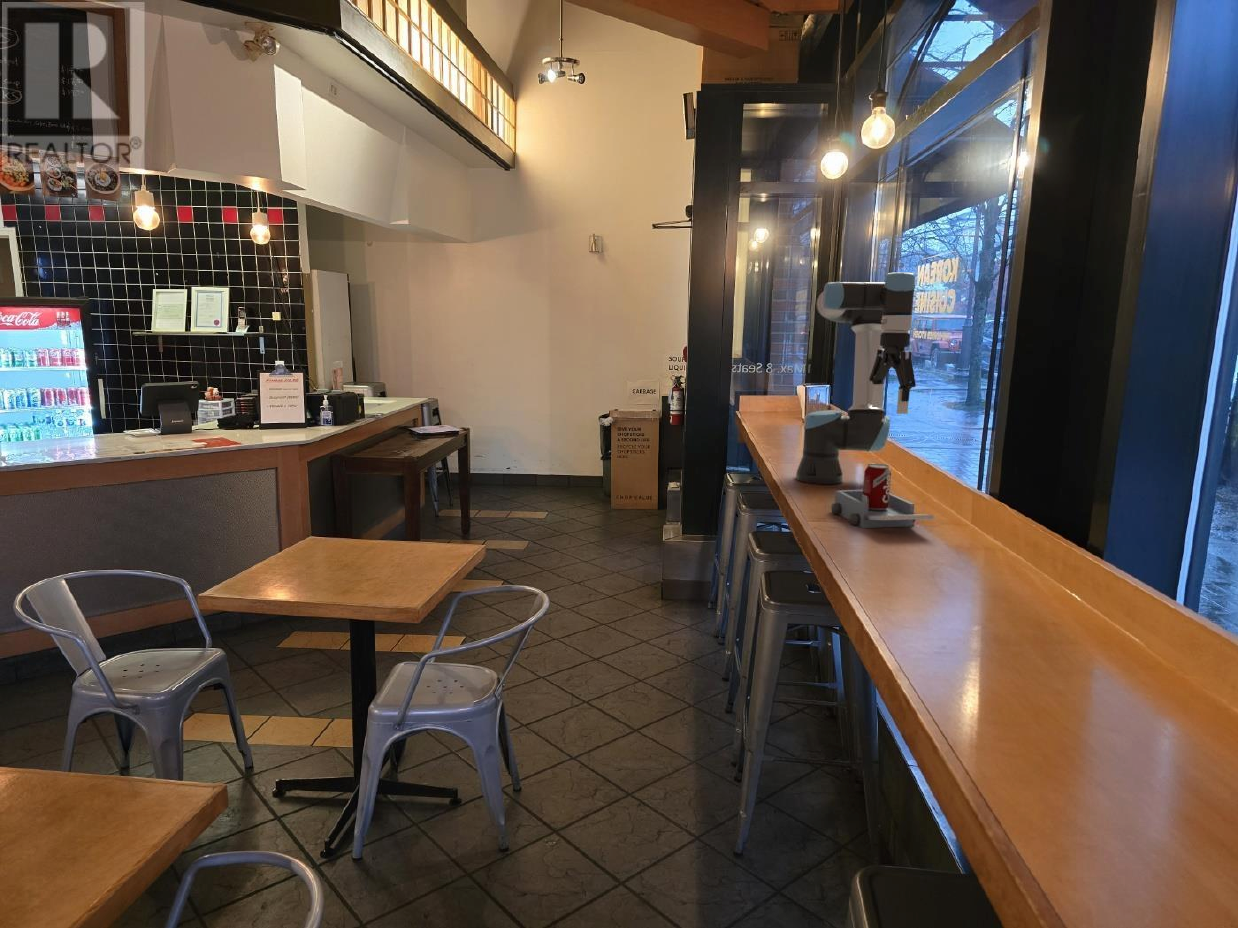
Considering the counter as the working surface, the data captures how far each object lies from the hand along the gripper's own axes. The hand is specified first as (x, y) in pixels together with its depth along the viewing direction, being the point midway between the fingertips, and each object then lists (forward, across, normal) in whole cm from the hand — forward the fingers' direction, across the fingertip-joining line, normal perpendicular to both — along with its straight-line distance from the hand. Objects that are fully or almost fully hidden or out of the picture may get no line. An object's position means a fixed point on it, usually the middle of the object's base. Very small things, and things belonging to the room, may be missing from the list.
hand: (889, 410), depth 203 cm
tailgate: (+26, +16, -6) cm, 31 cm away
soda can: (+26, +8, -6) cm, 28 cm away
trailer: (+29, +6, -6) cm, 30 cm away
